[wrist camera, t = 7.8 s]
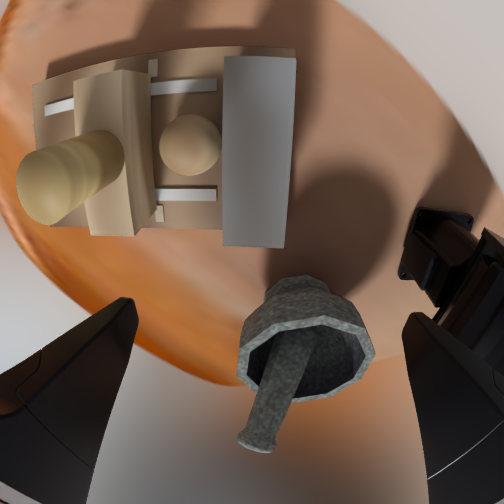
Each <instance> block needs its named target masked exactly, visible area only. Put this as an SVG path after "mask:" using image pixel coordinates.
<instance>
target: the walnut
mask: <svg viewBox="0 0 504 504" xmlns="http://www.w3.org/2000/svg"><path fill="white" fill-rule="evenodd" d="M221 149H222V139H221V135H220V132H219V130H218V128H217V127H216V125H215V124H214V123H213V122H212V121H210V120H209V119H207V118H206V117H203V116H200V115H195V114H189V115H183V116H180V117H178V118H176V119H174V120H173V121H171V122H170V123H169V124H168V125H167V126H166V128H165V129H164V131H163V132H162V135H161V137H160V142H159V150H160V155H161V158H162V160H163V162H164V163H165V164H166V166H167V167H168V168H169V169H171V170H172V171H174V172H176V173H178V174H181V175H186V176H193V175H198V174H201V173H203V172H205V171H207V170H208V169H210V168H211V167H212V166H213V165H214V164H215V163H216V161H217V160H218V158H219V156H220V153H221Z"/></svg>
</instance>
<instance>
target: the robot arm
mask: <svg viewBox="0 0 504 504" xmlns="http://www.w3.org/2000/svg"><path fill="white" fill-rule="evenodd" d="M421 212H422V215H421V216H419V214H420V213H421ZM468 220H469V221H468ZM473 221H474V219H473V217H472V216H471V215H470V214H465V213H459V212H453V211H446V210H440V209H433V208H425V207H418V208H417V209H416V210H415V213H414V217H413V221H412V225H411V229H410V232H409V234H408V237H407V240H406V244H405V247H404V251H403V254H402V258H401V264H400V267H399V270H398V277H399V278H400V279H401V280H415V282H416V283H417V285H418V286H419V288H420V289H421V290H424V291H425V292H426V294H427V295H428V297H429V298H430V300H431V301H432V303H433V305H434V306H435V307H436V308H438V307H440V308H439V310H438V311H437V313H436V314H435V316H434V317H433V319H430V318H429V317H428V316H426V315H425V314H424V313H422V312H413V313H411V314H410V315H409V317H408V320H407V322H406V324H405V326H404V328H403V331H402V341H403V346H404V352H405V359H406V365H407V371H408V377H409V381H410V385H411V389H412V394H413V398H414V402H415V407H416V412H417V417H418V422H419V427H420V433H421V439H422V445H423V450H424V458H425V465H426V473H427V479H428V480H427V484H428V494H429V504H504V238H502V237H500V236H499V235H497V234H495V233H493V232H492V231H490V230H488V229H487V228H485V227H484V229H483V231H482V233H481V235H482V236H481V238H480V240H479V239H477V238H476V237H475V236H474V235H473V234H472V233H471V232H470V231H471V228H472V225H473ZM403 273H404V274H403ZM402 274H403V275H402ZM138 323H139V318H138V314H137V310H136V306H135V302H134V300H133V299H132V298H127V297H120V298H119V299H117V300H115V301H114V302H112V303H111V304H109V305H108V306H106V307H104V308H103V309H101V310H100V311H98V312H97V313H95V314H93V315H92V316H90V317H89V318H87V319H86V320H84V321H83V322H81V323H80V324H78V325H77V326H75V327H73V328H72V329H70V330H69V331H68V332H66V333H65V334H63V335H62V336H60V337H58V338H57V339H55V340H54V341H52V342H51V343H49V344H48V345H46V346H45V347H43V348H42V350H41V349H40V350H39V351H37V352H36V353H34V354H33V355H31V356H30V357H28V358H27V359H25V360H24V361H22V362H21V363H19V364H17V365H16V366H14V367H12V368H11V369H9V370H7V371H5V372H3V373H2V374H0V504H86V501H87V497H88V492H89V488H90V484H91V480H92V476H93V472H94V468H95V464H96V461H97V457H98V454H99V450H100V447H101V443H102V440H103V437H104V433H105V430H106V427H107V424H108V421H109V417H110V414H111V411H112V408H113V405H114V402H115V399H116V396H117V393H118V391H119V387H120V385H121V382H122V379H123V376H124V374H125V371H126V368H127V365H128V362H129V358H130V354H131V350H132V346H133V342H134V339H135V335H136V331H137V327H138Z"/></svg>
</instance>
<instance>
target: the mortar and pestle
mask: <svg viewBox="0 0 504 504" xmlns="http://www.w3.org/2000/svg"><path fill="white" fill-rule="evenodd" d="M374 356H375V351H374V348H373V345H372V342H371V339H370V337H369V335H368V332H367V330H366V327H365V325H364V323H363V320H362V318H361V316H360V314H359V312H358V311H357V309H356V308H355V306H354V305H353V303H352V302H351V301H349V300H347V299H345V298H343V297H341V296H339V295H336V294H333V293H331V292H330V290H329V288H328V286H327V284H326V282H323V281H321V280H318V279H316V278H313V277H311V276H308V275H306V274H305V275H299V276H293V277H288V278H282V279H280V280H279V281H278V282H277V283H276V284H275V285H273V286H272V287H271V288H270V289H269V290H268V291H266V292H265V296H264V302H263V304H262V305H261V306H260V307H258V308H257V309H256V310H255V311H254V312H253V313H252V314H251V315H250V316H249V317H248V318H247V319H246V320H245V322H244V325H243V329H242V332H241V336H240V346H239V355H238V366H237V377H238V378H239V379H240V380H241V381H243V382H244V383H245V384H246V385H247V386H248V387H249V388H250V389H251V390H252V391H254V392H255V393H256V394H257V395H256V398H255V401H254V404H253V407H252V410H251V412H250V415H249V418H248V421H247V425H246V427H245V429H244V430H242V431H241V432H240V433H239V435H238V437H237V441H238V443H239V444H241V445H242V446H244V447H246V448H248V449H251V450H253V451H257V452H262V453H271V452H273V451H274V449H275V447H276V442H275V437H276V435H277V433H278V430H279V428H280V426H281V424H282V422H283V420H284V417H285V415H286V413H287V411H288V408H289V406H290V404H291V403H294V402H302V401H309V400H315V399H321V398H327V397H331V396H332V395H334V394H336V393H338V392H340V391H341V390H343V389H345V388H347V387H349V386H350V385H352V384H354V383H355V382H357V381H359V380H360V379H361V378H362V376H363V375H364V373H365V371H366V370H367V368H368V366H369V365H370V363H371V361H372V359H373V358H374Z"/></svg>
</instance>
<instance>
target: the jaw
mask: <svg viewBox="0 0 504 504" xmlns="http://www.w3.org/2000/svg"><path fill="white" fill-rule="evenodd" d="M73 93H74V120H75V135H76V137H73V138H70V139H67V140H64V141H61V142H58V143H55V144H52V145H50V146H47V147H44V148H41V149H39V150H36V151H33V152H31V153H29V154H28V155H26V156H25V157H24V158H23V160H22V161H21V163H20V165H19V168H18V171H17V177H16V186H17V193H18V197H19V200H20V202H21V204H22V206H23V208H24V210H25V211H26V213H27V214H28V215H29V216H30V217H31V218H32V219H33V220H35V221H36V222H38V223H40V224H44V225H52V224H55V223H57V222H58V221H59V220H61V219H62V218H63V217H65V216H66V215H67V214H68V213H70V212H71V211H72V210H74V209H75V208H76V207H78V206H79V205H81V204H82V203H83V202H84V204H85V210H86V215H87V220H88V225H89V230H90V234H91V235H101V236H135V235H136V234H137V233H138V231H139V230H140V229H141V228H142V227H143V225H144V224H145V223H146V222H147V221H148V219H149V218H150V217H151V216H152V215H153V214H154V212H155V211H156V210H157V205H156V195H155V183H154V170H153V155H152V135H151V74H147V73H142V72H136V71H129V70H123V69H121V70H116V71H111V72H107V73H102V74H98V75H94V76H90V77H86V78H82V79H79V80H75V81H73Z"/></svg>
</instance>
